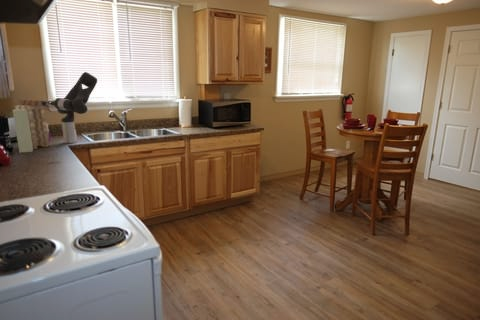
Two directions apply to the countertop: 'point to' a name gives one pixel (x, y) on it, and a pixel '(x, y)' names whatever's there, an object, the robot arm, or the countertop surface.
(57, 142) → the countertop surface
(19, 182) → the countertop surface
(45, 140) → the tan egg carton
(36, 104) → the walnut bar
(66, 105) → the robot arm
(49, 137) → the candy bar box
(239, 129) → the countertop surface
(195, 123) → the countertop surface
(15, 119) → the sage post
